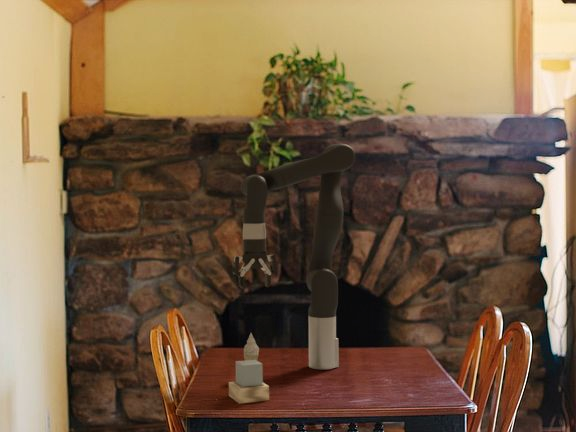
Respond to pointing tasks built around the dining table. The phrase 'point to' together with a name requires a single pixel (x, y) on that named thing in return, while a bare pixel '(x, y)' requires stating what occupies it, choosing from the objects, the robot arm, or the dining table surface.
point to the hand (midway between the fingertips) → (254, 287)
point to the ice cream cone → (251, 349)
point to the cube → (249, 373)
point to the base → (248, 392)
